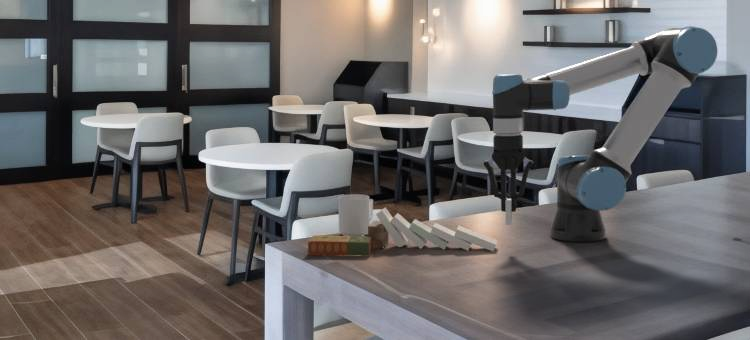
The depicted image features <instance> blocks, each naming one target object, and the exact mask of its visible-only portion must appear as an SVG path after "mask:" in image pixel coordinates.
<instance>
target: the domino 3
mask: <svg viewBox="0 0 750 340" xmlns="http://www.w3.org/2000/svg"><path fill="white" fill-rule="evenodd" d="M410 224H411V225H410V227H409V229H410V230H412V231H413V232H415V233H417V234H418V235H420V236H422V237H423V238H425V239H427V240H428V241H429V242H430V243H432V244H433V245H435V246H437V247H438V248H440V249H442V250H443V251H445V250H446V248H447V246H448V245H449V243H450V242H448V241H446V240H444V239H442V238H439V237H437V236H435V235H433V234H431V233H430V232H431V230H432V227H430V226H428V225H426V224H425V223H424V222H421V221H419V220H418V219H417V218H415V219H414V220H412V222H411V223H410ZM428 241H427V242H428Z"/></svg>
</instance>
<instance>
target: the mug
mask: <svg viewBox="0 0 750 340" xmlns="http://www.w3.org/2000/svg"><path fill="white" fill-rule="evenodd" d="M337 200H338V201H337V202H338V204H337V205H338V208H337V209H338V233H339V234H340V235H341V234H342V235H349V236H361V235H366V234H367V235H368V226H369V225H370V224H371V223H370V222H371V220H372V219H373V216H374V199H372V198H370V196H369V195H367V194H358V193H357V194H356V193H355V194H343V195H340V196H338V198H337ZM342 235H341V236H342ZM367 235H366V236H367Z"/></svg>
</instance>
